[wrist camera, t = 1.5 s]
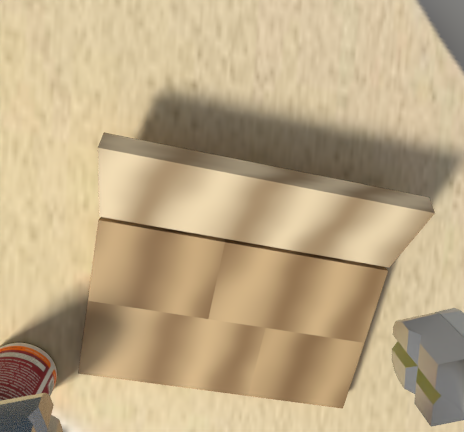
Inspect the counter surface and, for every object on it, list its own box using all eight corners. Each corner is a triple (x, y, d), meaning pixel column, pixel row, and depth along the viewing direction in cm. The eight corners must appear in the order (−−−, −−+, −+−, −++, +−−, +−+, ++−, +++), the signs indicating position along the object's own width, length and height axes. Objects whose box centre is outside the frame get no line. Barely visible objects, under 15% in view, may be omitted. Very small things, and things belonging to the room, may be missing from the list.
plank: (429, 197, 33) (434, 213, 32) (385, 252, 38) (389, 267, 37) (104, 132, 30) (97, 147, 29) (104, 201, 35) (98, 216, 34)
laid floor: (380, 263, 39) (388, 270, 37) (337, 396, 43) (342, 408, 41) (102, 214, 36) (98, 220, 34) (82, 362, 40) (78, 373, 38)
